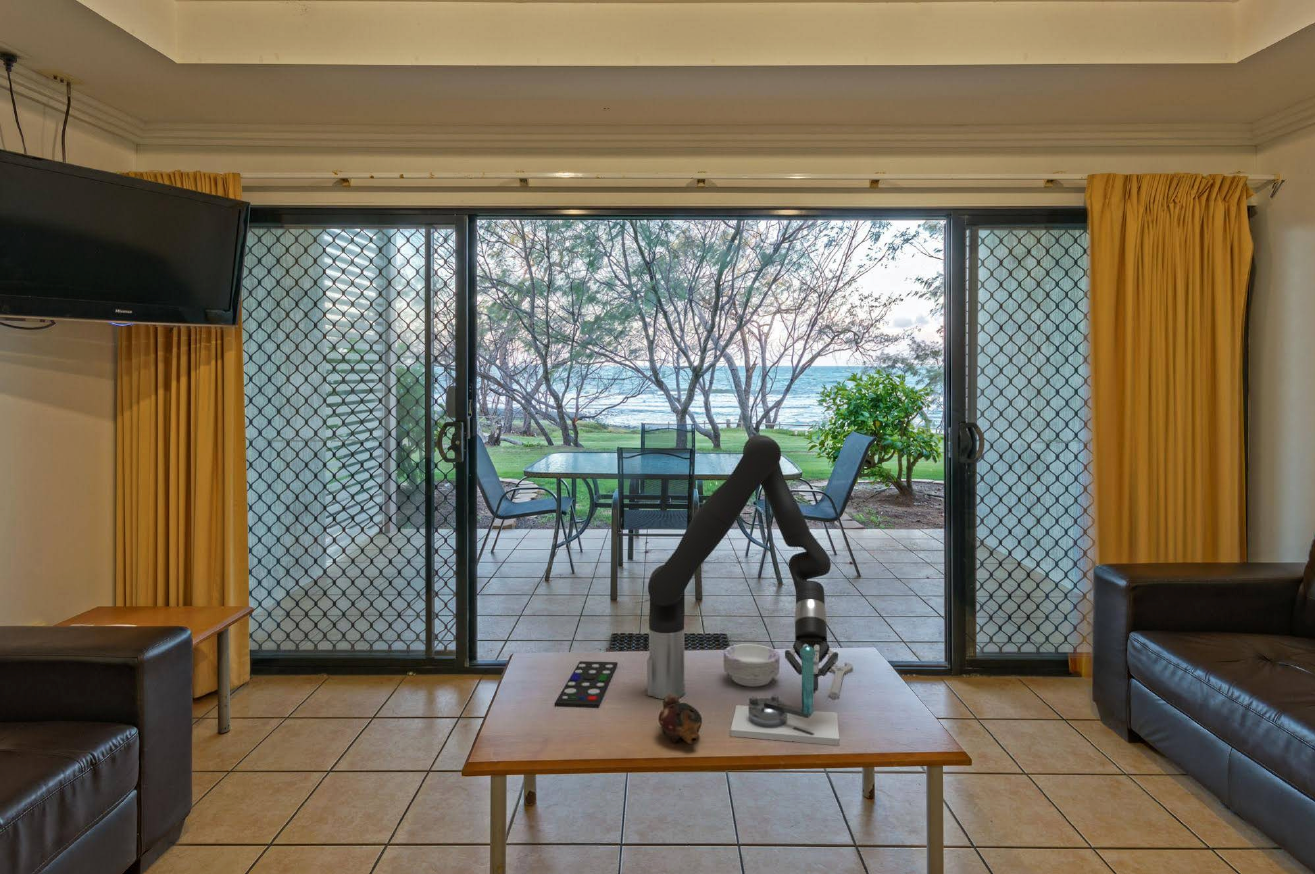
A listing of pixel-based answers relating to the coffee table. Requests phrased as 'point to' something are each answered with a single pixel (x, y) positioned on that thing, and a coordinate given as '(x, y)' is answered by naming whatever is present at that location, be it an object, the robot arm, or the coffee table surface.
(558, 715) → the coffee table surface
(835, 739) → the white rectangular board
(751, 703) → the teal handled crank
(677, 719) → the decorative turtle
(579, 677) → the remote control
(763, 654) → the paper bowls
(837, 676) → the adjustable wrench
